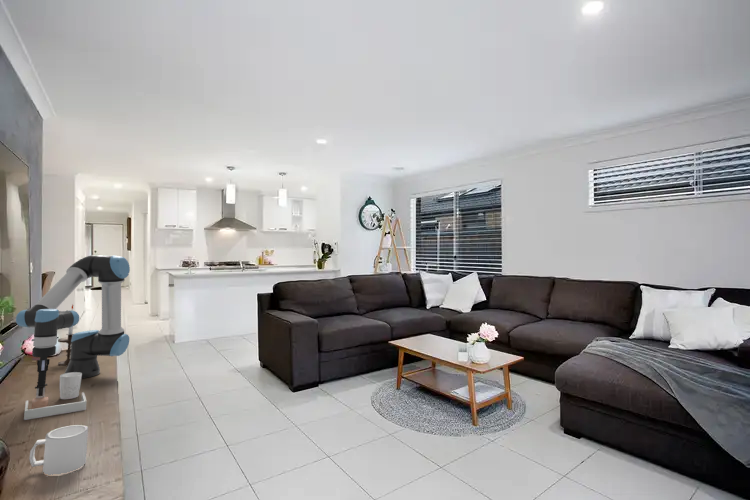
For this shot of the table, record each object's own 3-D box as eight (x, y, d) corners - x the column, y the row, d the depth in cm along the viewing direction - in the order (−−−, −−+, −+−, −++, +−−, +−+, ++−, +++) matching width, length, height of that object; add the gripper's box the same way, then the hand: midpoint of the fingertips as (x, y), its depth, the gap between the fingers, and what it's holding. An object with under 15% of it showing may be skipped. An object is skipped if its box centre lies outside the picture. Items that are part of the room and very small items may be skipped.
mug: (22, 482, 109) (25, 443, 109) (33, 465, 118) (36, 429, 118) (82, 472, 115) (85, 435, 116) (88, 456, 124) (91, 423, 125)
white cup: (67, 400, 170) (69, 377, 171) (53, 398, 172) (55, 376, 172) (84, 395, 178) (86, 373, 178) (70, 393, 180) (72, 371, 180)
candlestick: (77, 365, 225) (82, 304, 227) (54, 366, 220) (59, 304, 221) (81, 360, 235) (85, 302, 236) (58, 362, 229) (63, 302, 231)
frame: (25, 409, 159) (25, 400, 159) (83, 400, 171) (84, 392, 172) (23, 420, 149) (24, 410, 149) (85, 409, 161) (86, 401, 161)
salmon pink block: (31, 408, 160) (32, 398, 160) (47, 406, 163) (48, 396, 164) (31, 412, 156) (32, 402, 156) (47, 410, 160) (48, 400, 160)
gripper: (33, 344, 166) (28, 400, 165) (32, 350, 156) (27, 409, 155) (55, 342, 171) (51, 396, 170) (56, 348, 161) (51, 405, 160)
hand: (39, 402), depth 162 cm, fingers closed
